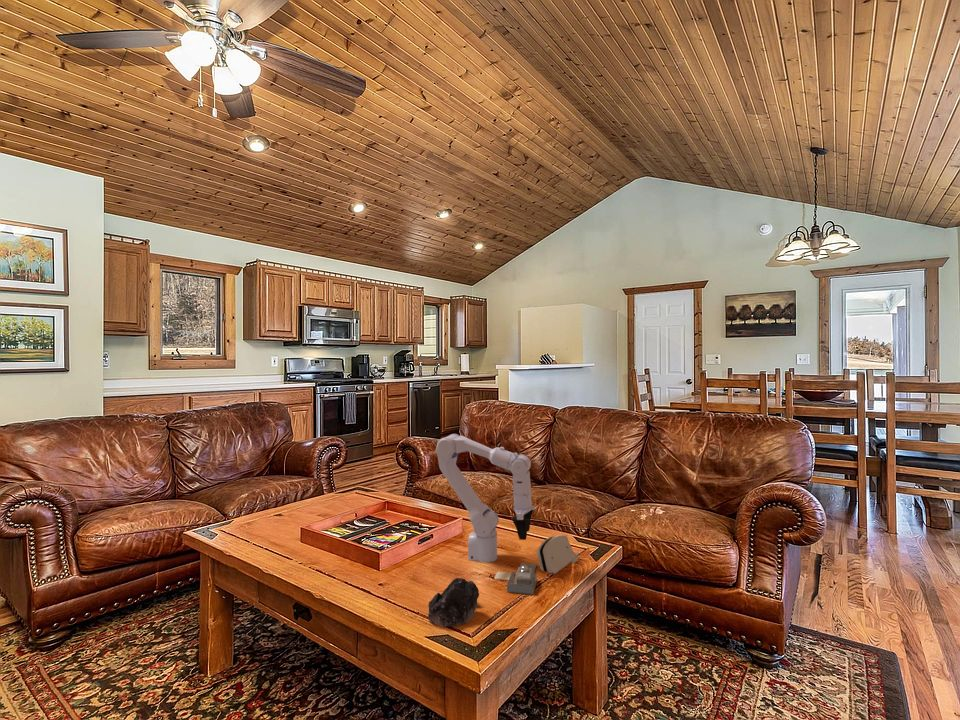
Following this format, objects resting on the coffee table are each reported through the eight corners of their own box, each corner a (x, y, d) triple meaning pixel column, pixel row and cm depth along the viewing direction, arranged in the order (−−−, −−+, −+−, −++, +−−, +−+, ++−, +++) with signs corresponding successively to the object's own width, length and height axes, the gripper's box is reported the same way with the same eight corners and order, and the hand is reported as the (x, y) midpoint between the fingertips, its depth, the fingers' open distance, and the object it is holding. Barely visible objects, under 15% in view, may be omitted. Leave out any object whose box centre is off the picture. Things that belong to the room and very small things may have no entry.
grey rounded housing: (555, 577, 151) (545, 544, 153) (542, 579, 153) (532, 546, 155) (579, 559, 164) (569, 529, 166) (566, 560, 167) (557, 531, 169)
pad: (494, 581, 148) (494, 578, 148) (497, 574, 153) (497, 571, 153) (510, 583, 147) (510, 580, 147) (513, 576, 152) (513, 572, 152)
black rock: (416, 625, 127) (417, 588, 125) (440, 596, 139) (441, 563, 138) (464, 639, 122) (465, 602, 120) (484, 608, 134) (485, 574, 133)
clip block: (516, 586, 142) (516, 568, 142) (518, 580, 146) (518, 563, 146) (530, 587, 141) (530, 569, 141) (531, 581, 145) (531, 564, 145)
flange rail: (507, 595, 140) (507, 585, 140) (517, 567, 158) (516, 558, 158) (533, 598, 138) (533, 587, 138) (540, 569, 157) (540, 559, 157)
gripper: (531, 499, 152) (534, 543, 152) (536, 487, 166) (538, 527, 166) (509, 499, 153) (511, 542, 153) (516, 487, 167) (518, 527, 167)
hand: (524, 535), depth 160 cm, fingers open, 7 cm apart
